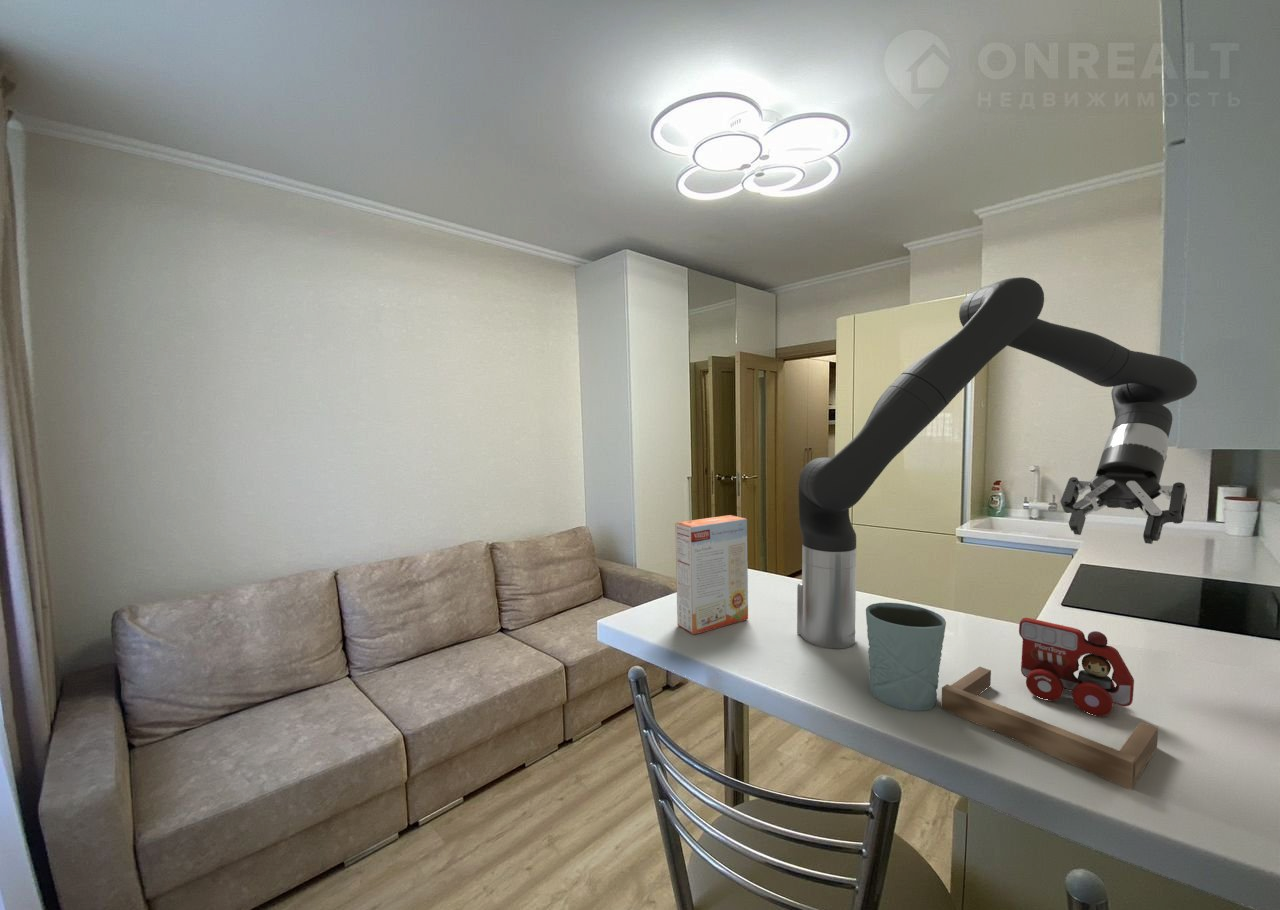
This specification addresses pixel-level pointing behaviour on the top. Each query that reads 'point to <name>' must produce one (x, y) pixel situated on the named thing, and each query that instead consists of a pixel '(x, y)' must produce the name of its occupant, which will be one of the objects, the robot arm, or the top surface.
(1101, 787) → the top surface
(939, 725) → the top surface
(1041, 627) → the toy fire truck
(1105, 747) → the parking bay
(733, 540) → the cracker box
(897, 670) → the grey-green textured vase
